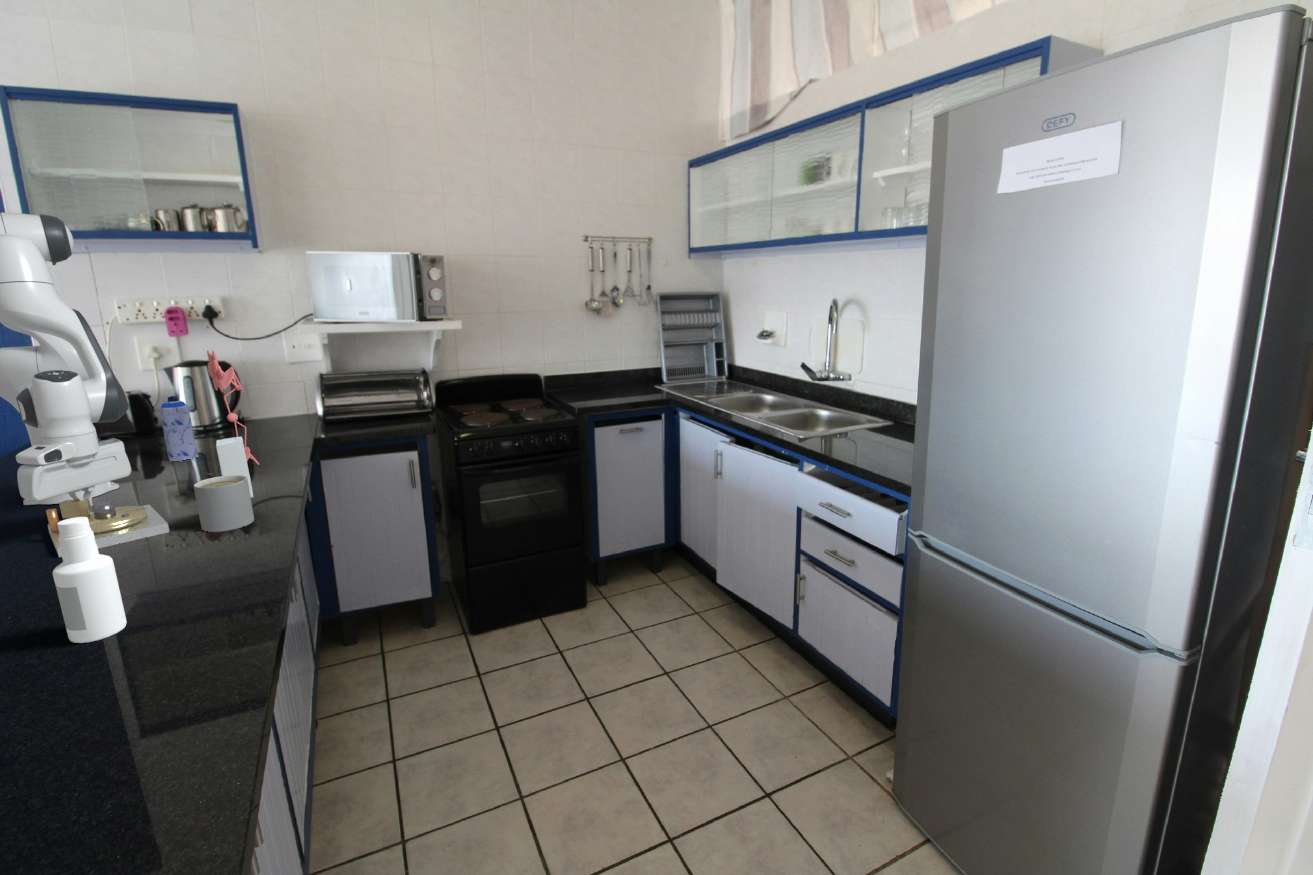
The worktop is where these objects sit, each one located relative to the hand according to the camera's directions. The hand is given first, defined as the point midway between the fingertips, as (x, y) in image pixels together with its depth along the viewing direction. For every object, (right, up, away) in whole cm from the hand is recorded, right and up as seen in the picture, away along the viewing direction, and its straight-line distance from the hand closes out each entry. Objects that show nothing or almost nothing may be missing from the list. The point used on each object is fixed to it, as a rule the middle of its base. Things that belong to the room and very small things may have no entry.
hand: (85, 507), depth 143 cm
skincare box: (+19, 0, +23) cm, 30 cm away
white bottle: (+41, -14, -44) cm, 62 cm away
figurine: (-3, +6, +53) cm, 54 cm away
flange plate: (+5, -3, -2) cm, 6 cm away
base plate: (+6, -5, -1) cm, 8 cm away
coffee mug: (+29, -4, +4) cm, 29 cm away
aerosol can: (-25, +9, +64) cm, 70 cm away
